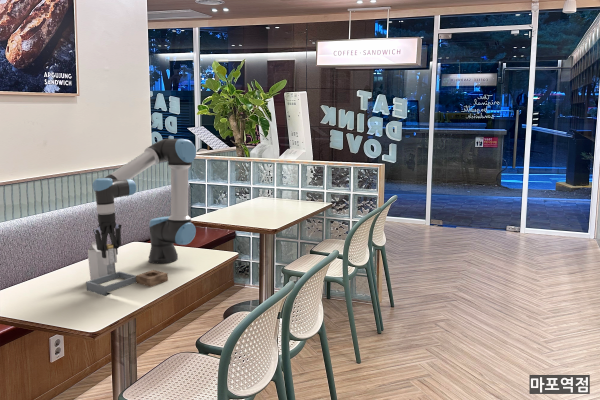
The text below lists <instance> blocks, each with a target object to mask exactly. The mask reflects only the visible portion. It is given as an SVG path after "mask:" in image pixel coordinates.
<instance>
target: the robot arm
mask: <svg viewBox="0 0 600 400" xmlns="http://www.w3.org/2000/svg"><path fill="white" fill-rule="evenodd" d="M196 157H197V149H196V147H195V144H194V143H193V141H191V140H189V139H184V138H163V139H160V140H159V141H156V142H155V143H153V144H151V145H149V146H147V147H146V148H145V149H144V152H142V153H141V154H139V155H137V156H136V157H135V158H133V159H131V160H130V161H128V162H127V163H125V164H123V165H122V166H121V167H119V168H117V169H116V170H115V171H113V172H111V173H110V174H108V175H106V176H104V177H98V178H96V179H94V181H93V182H92V190H93V191H94V192H95V202H96V213H97V221H98V225H97V228H96V229H95V228H93V230H92V231H93V234H94V238H95V242H96V245H97V250H100V251H102V258H104V264H105V265H109V257H108V251H107V250H106V246H107V244H108V236H109V238H110V242H111V243H110V244H113V247H114V258H115V264H116V263H118V257H117V256H118V253H119V252H118V249H119V248H120V246H122V235H121V233H122V231H121V229H122V224H119V223H117V222H116V220H117V219H116V213H115V211H116V207H115V206H116V205H115V199H117V198H118V199H119V198H122V197H129V196H131V195H132V196H133V195H135V194H136V191H137V185H136V182H135V181H134V180H133V179H134V178H135V177H136V176H138V175H139V174H141V173H142V172H144V171H146V170H147V169H148V168H150V167H152V166H153V165H154V166H157V165H158V164H160V163H163V162H167V166H168V167H169V168H170V175H171V176H170V195H171V196H170V208H171V209H170V215H169V216H168V215H167V216H160V217H155V218H152V219H150V220H149V226H148V228H149V235H150V237H149V238H150V251H149V256H148V262H149V263H150V264H155V265H158V264H160V265H161V264H170V263H173V262H175V261H177V260H178V259H179V257H178V253H177V250H176V247H175V245H180V246H183V245H184V246H187V245H189V244H190V243H191V242H192V241H193V240H194V239H195V236H196V232H197V229H196V226H195V224H194V223H192V217H191V216H190V215H189V169H190V167H192V162H194V161H195V158H196ZM174 244H175V245H174Z"/></svg>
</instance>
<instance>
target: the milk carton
mask: <svg viewBox="0 0 600 400" xmlns="http://www.w3.org/2000/svg"><path fill="white" fill-rule="evenodd" d="M90 244H91V245H90V246H89V247H88V249H87V258H88V268H89V277H90V280H94V279H97V278H100V277H103V276H106V275H108V274H107V265H105V264H104V258H102V251H100V250H97V245H96V241H93V242H91V243H90ZM90 280H89V281H90Z"/></svg>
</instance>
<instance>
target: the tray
mask: <svg viewBox="0 0 600 400" xmlns="http://www.w3.org/2000/svg"><path fill="white" fill-rule="evenodd" d="M119 278H121V279H123V280H120V281H118V282H117V281H116V282H114V283H111V284H107V285H101V284H102V283H103V284H104V283H107V282H109V281H110V282H111V281H113V280H116V279H119ZM135 283H137V282H136V274H132V273H128V272H124V271H120V270H119V271H116V273H115V274H112V275H106V276H103V277H100V278H97V279H94V280H87V281H85V285H86V286H85V287H86V291H88V292H91V293H94V294H98V295H101V296H104V297H107V296H110V295H112V293H111V292H112V291H114V290H117V289H120V288H124V287H127V286H129V285H132V284H135Z"/></svg>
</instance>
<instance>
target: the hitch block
mask: <svg viewBox="0 0 600 400" xmlns="http://www.w3.org/2000/svg"><path fill="white" fill-rule="evenodd" d="M135 275H136V274H135ZM168 276H169V275H168V272H164V271H160V270H155V269H152V270H148V271H146V272H143V273H140V274H137V275H136V282H135V283H136V284H138V285H143V286H147V287H151V288H152V287H154V286H156V285H160V284H163V283H165V282H168V281H169V277H168Z"/></svg>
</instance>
